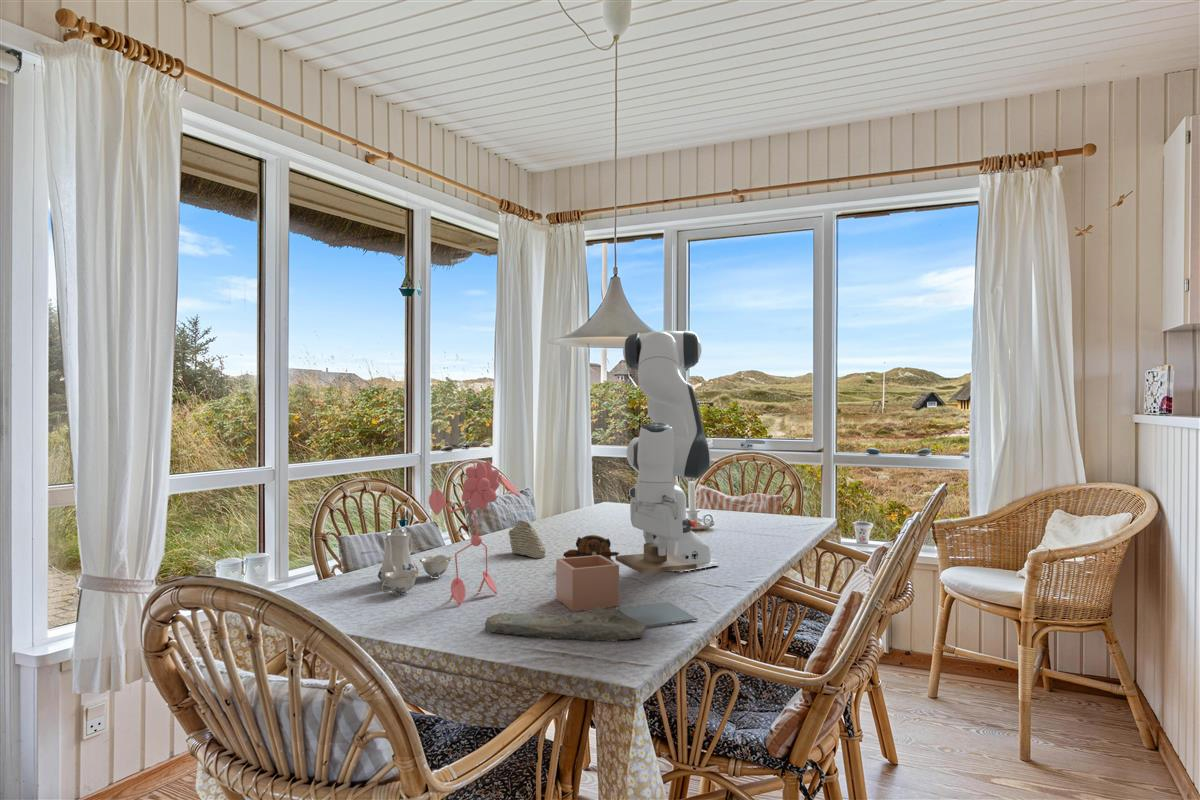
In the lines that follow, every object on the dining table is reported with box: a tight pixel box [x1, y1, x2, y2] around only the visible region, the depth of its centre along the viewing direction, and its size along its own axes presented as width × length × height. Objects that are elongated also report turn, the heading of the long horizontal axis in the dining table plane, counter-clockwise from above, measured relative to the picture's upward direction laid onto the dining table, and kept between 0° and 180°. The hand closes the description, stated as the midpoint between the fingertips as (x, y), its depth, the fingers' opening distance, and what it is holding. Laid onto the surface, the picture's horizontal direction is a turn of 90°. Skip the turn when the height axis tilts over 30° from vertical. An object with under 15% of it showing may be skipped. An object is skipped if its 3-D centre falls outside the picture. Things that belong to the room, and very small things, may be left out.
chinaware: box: [377, 523, 453, 596], centre depth 192 cm, size 28×17×17 cm, turn 169°
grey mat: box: [615, 601, 698, 629], centre depth 165 cm, size 14×14×1 cm
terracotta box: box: [555, 555, 620, 612], centre depth 176 cm, size 12×12×10 cm
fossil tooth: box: [508, 518, 547, 559], centre depth 227 cm, size 12×6×15 cm
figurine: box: [428, 459, 521, 606], centre depth 175 cm, size 15×26×35 cm, turn 139°
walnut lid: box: [615, 543, 697, 574], centre depth 165 cm, size 14×14×4 cm
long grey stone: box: [484, 606, 646, 642], centre depth 153 cm, size 35×5×10 cm
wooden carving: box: [562, 534, 620, 563], centre depth 208 cm, size 16×5×10 cm, turn 92°
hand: (655, 552), depth 165 cm, fingers closed on walnut lid, 4 cm apart
